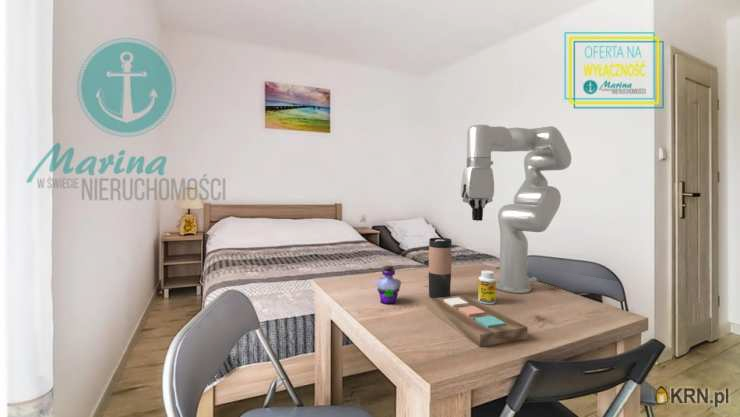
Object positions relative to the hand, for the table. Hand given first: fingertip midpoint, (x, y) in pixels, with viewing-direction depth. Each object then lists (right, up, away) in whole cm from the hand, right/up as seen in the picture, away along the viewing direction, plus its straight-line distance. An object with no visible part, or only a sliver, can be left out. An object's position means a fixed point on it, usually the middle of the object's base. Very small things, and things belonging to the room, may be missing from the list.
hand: (477, 220), depth 113 cm
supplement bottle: (+3, -27, +1) cm, 28 cm away
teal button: (-4, -28, -24) cm, 37 cm away
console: (-7, -28, -16) cm, 33 cm away
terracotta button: (-7, -28, -16) cm, 33 cm away
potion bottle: (-29, -27, +1) cm, 40 cm away
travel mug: (-11, -27, +6) cm, 30 cm away
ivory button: (-9, -27, -9) cm, 30 cm away
